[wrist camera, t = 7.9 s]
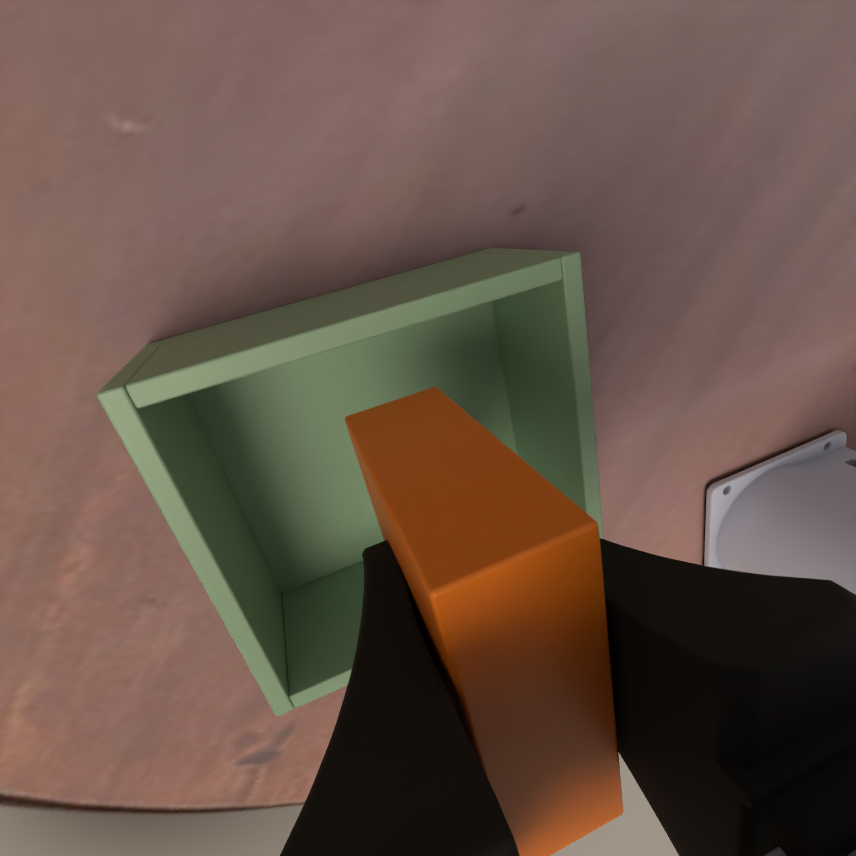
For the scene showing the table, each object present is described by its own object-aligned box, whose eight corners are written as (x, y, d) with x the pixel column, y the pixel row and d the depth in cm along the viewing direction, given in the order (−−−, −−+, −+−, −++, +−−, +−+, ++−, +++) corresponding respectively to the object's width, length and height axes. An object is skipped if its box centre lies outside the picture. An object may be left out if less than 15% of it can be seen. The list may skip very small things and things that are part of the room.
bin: (492, 247, 18) (581, 251, 13) (531, 497, 22) (607, 569, 18) (145, 344, 15) (93, 394, 10) (271, 601, 20) (276, 718, 15)
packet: (436, 384, 12) (601, 521, 6) (484, 592, 15) (625, 814, 9) (343, 416, 12) (428, 595, 6) (411, 624, 14) (513, 879, 9)
